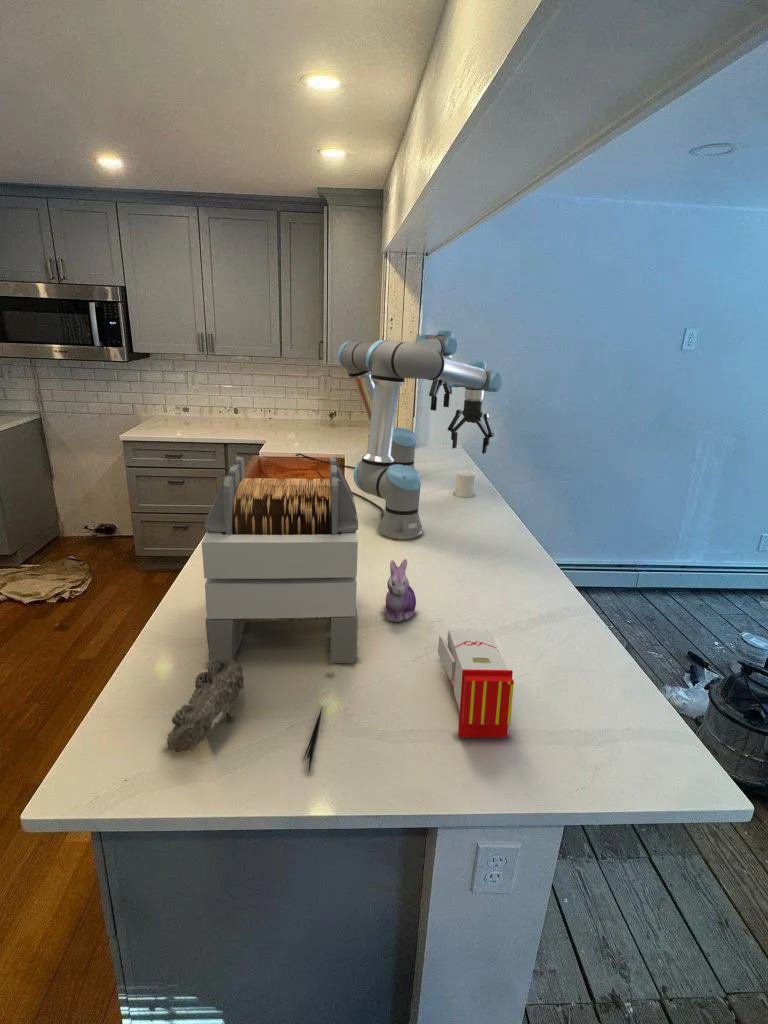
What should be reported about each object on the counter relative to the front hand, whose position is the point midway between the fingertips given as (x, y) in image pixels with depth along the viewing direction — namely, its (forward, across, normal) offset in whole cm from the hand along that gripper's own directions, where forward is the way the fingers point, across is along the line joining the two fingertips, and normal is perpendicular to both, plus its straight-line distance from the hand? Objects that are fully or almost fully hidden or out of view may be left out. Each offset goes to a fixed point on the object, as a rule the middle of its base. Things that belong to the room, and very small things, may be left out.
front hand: (469, 450), depth 239 cm
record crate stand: (+19, -9, +126) cm, 128 cm away
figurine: (+19, -28, +104) cm, 110 cm away
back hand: (-9, +32, -35) cm, 48 cm away
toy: (+19, -56, +123) cm, 137 cm away
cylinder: (+20, +1, -1) cm, 20 cm away
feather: (+19, -36, +148) cm, 153 cm away
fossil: (+19, -19, +159) cm, 161 cm away
